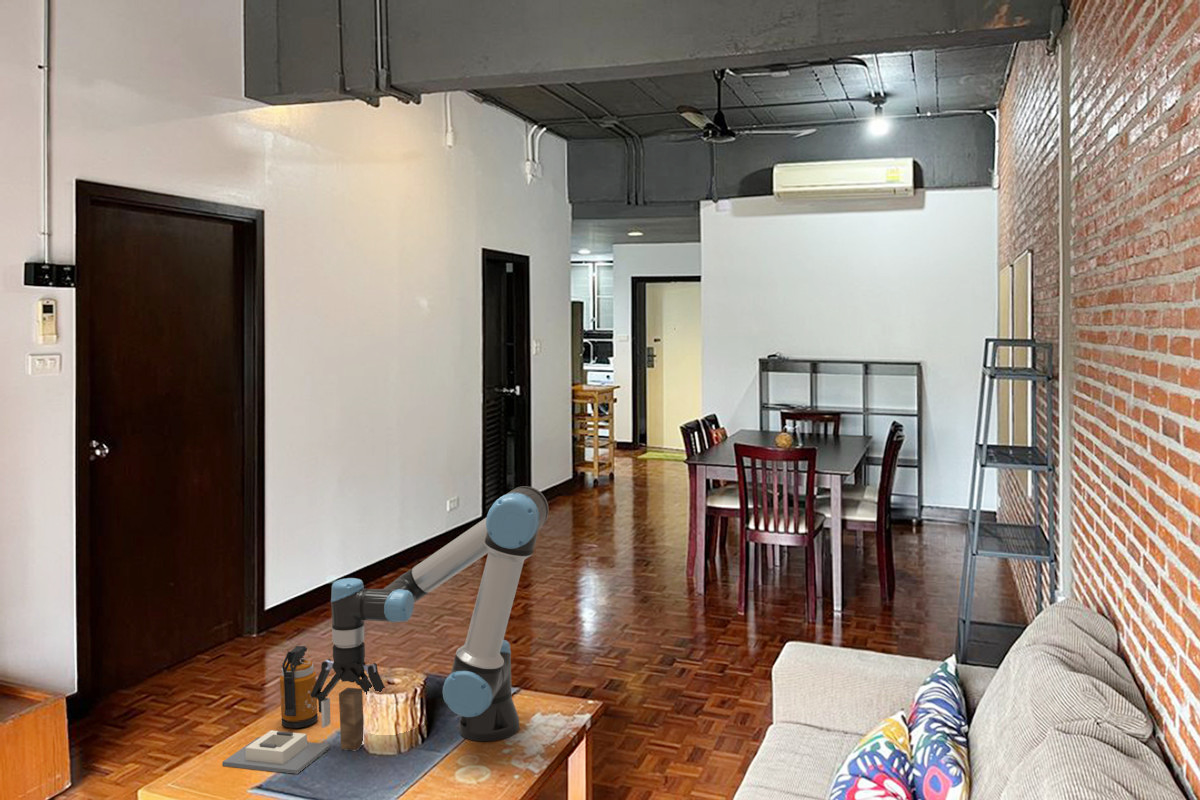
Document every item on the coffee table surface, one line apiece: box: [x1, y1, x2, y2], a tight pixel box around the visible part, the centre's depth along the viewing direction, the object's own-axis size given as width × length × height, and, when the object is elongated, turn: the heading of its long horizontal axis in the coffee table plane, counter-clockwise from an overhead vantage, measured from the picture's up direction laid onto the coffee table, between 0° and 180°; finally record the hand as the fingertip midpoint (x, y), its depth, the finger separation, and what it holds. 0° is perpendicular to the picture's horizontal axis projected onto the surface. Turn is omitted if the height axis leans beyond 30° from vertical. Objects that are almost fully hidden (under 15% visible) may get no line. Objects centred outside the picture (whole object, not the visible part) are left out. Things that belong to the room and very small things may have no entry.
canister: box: [279, 645, 319, 729], centre depth 243 cm, size 9×11×20 cm
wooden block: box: [338, 687, 364, 751], centre depth 229 cm, size 4×4×14 cm
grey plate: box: [221, 730, 331, 775], centre depth 225 cm, size 20×14×5 cm
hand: (350, 728), depth 229 cm, fingers open, 13 cm apart
